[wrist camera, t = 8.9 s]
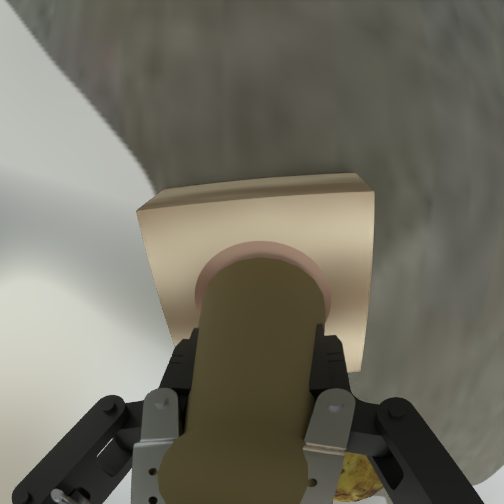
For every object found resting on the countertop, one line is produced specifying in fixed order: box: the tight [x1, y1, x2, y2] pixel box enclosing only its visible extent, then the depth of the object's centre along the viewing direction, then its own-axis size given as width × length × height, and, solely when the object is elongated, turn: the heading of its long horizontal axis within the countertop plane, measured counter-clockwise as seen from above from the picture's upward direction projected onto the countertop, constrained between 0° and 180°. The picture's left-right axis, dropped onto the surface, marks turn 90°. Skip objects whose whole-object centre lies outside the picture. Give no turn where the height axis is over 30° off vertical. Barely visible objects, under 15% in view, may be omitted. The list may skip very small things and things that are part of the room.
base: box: [136, 173, 374, 372], centre depth 18 cm, size 11×11×4 cm
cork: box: [153, 257, 333, 504], centre depth 10 cm, size 6×6×11 cm
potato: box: [333, 452, 384, 502], centre depth 23 cm, size 8×13×8 cm, turn 69°
